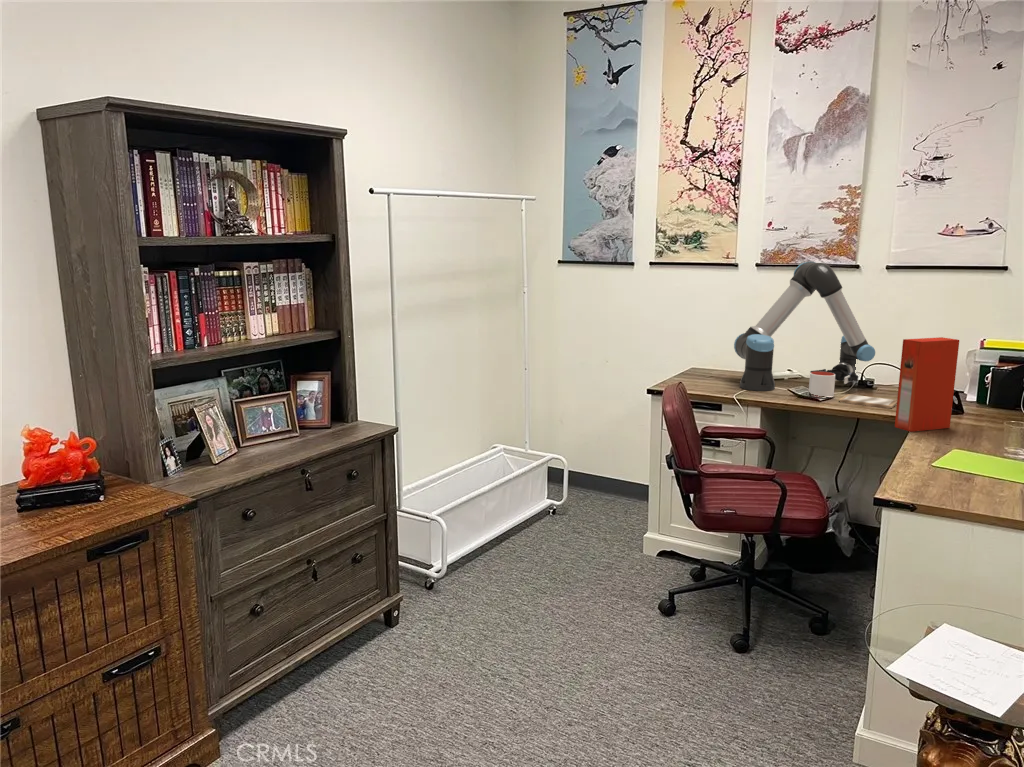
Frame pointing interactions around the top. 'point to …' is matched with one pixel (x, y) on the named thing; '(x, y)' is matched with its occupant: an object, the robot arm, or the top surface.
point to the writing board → (868, 401)
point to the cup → (822, 383)
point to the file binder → (926, 383)
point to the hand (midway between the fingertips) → (828, 378)
